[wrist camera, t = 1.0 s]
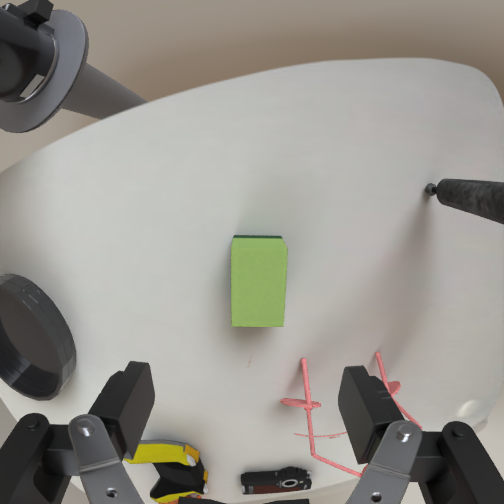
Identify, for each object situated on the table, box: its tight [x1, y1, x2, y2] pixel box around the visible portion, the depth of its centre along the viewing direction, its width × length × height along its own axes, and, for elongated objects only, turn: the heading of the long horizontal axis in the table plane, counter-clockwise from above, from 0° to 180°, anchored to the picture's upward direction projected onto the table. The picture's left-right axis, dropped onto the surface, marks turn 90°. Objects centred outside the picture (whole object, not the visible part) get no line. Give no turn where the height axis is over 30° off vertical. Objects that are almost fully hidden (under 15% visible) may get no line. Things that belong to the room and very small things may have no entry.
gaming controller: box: [124, 440, 208, 503], centre depth 35 cm, size 15×6×10 cm
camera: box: [241, 467, 312, 495], centre depth 38 cm, size 6×3×11 cm
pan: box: [0, 274, 76, 401], centre depth 30 cm, size 17×17×4 cm
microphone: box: [426, 179, 504, 224], centre depth 19 cm, size 7×7×20 cm
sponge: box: [231, 235, 288, 327], centre depth 28 cm, size 7×4×5 cm, turn 179°
